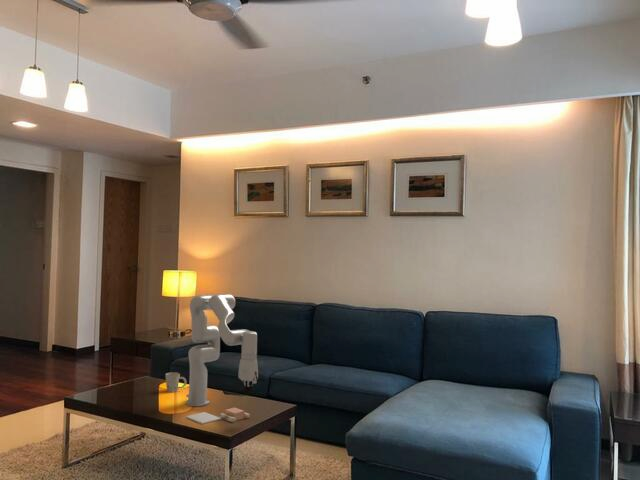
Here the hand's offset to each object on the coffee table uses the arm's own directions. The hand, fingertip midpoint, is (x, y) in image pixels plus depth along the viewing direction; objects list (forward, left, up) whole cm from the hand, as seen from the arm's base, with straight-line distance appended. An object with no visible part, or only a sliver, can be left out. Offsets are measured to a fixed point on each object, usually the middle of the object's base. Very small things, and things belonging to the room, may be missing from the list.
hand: (248, 394), depth 253 cm
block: (-10, 0, -14) cm, 17 cm away
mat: (-19, -12, -14) cm, 27 cm away
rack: (-9, 0, -14) cm, 17 cm away
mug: (-74, +7, -14) cm, 76 cm away
